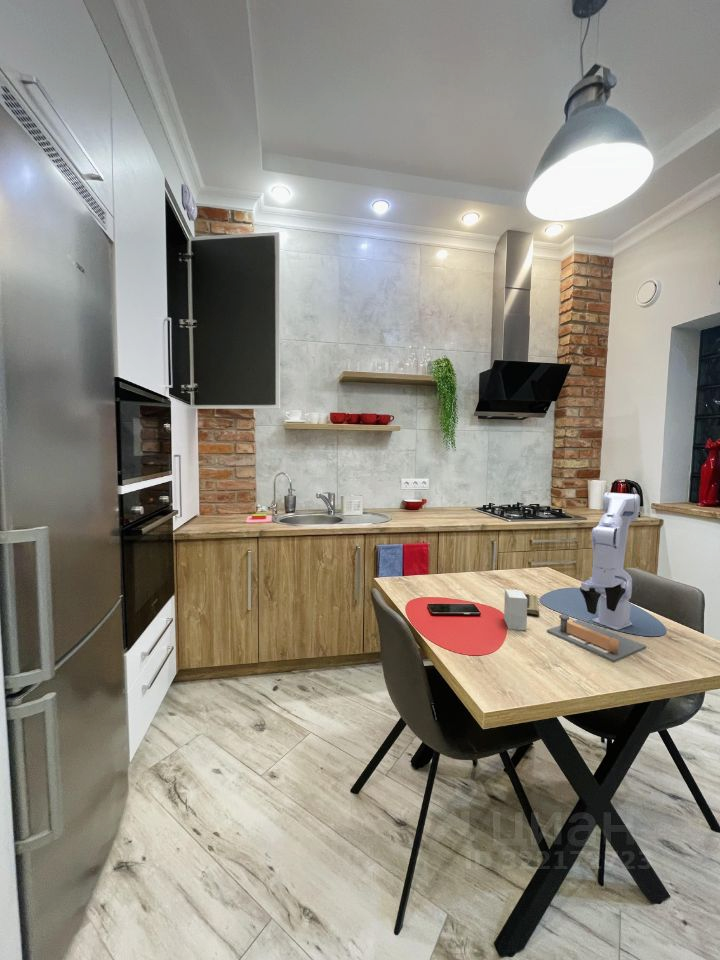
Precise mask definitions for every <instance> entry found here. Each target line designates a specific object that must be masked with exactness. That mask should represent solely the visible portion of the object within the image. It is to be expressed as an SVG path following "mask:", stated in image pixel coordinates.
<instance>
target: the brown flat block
mask: <svg viewBox="0 0 720 960" xmlns="http://www.w3.org/2000/svg"><path fill="white" fill-rule="evenodd" d="M525 596H526V597H527V599H528V600H527V617H533V618H534V617H535V618H540V607H539V606H540V605H539V598H538V596H537V595H535V594H525Z"/></svg>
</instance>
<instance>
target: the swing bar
mask: <svg viewBox="0 0 720 960" xmlns="http://www.w3.org/2000/svg"><path fill="white" fill-rule="evenodd" d="M567 632H568V633H570V634H572V635H574V636H577V637H579V638H581V639H584V640H586V641H588V642H591V643H593V644H595V645H598V646H600V647H602V648H604V649H607V650H609V651H611V652H614V653H618V647H619V640H618V639H616V638H612V637H609V636H606V635H604V634H601V633H599V632H596V631H594V630H591V629H589V628H586V627H584V626H581V625H579V624H576V623H574V622H573V621H571V620H570V621H567Z"/></svg>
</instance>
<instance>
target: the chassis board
mask: <svg viewBox="0 0 720 960" xmlns="http://www.w3.org/2000/svg"><path fill="white" fill-rule="evenodd" d="M558 618H559V619H560V625H558V626H554V627H550V628H547V629H546V633H549V634H551V635H554V636H556V637H557V638H560V639H562V640H564V641H566V642H568V643H571V644H573V645H575V646H578V647H579V648H581V649H583V650H586V651H588V652H591V653H593V654H595V655H598V656H599V657H602V658H603V659H606V660H608V661H610V662H613V663H615V662H618V661H620V660H623V659H625V658H626V657H629V656H631V655H633V654H637V653H638V652H640V651H643V650H645V649H647V645H646V644H642V643H640V642H638V641H636V640H635V641H634V640H632V639H630V638H627V637H625V636H622V635H620V634H617V633H614V632H612V631H610V630H607V629H605V628H602V627H599V626H597V625H594V624H592V623H589V622H586V621H584V620H581V619H576V620H573V621H572V622H574V623H576V624H579V625H581V626H584V627H586V628H589V629H591V630H594V631H596V632H599V633H601V634H604V635H606V636H609V637H612V638H616V639H618V640H619V647H618V653H614V652H611V651H609V650H607V649H604V648H602V647H600V646H598V645H595V644H593V643H591V642H588V641H586V640H584V639H581V638H579V637H577V636H574V635H572V634H570V633H568V632H567V622H568V621H569V620H570V616H568V615H566V614H559V617H558Z"/></svg>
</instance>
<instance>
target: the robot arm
mask: <svg viewBox="0 0 720 960" xmlns="http://www.w3.org/2000/svg"><path fill="white" fill-rule="evenodd" d="M640 505H641V497H640V495H639V494H638V493H621V492H620V493H619V492H608V491H607V492H605V493H604V494H603V499H602V508H603V513H604V514H603V515H602V516H601V517H600V519H599V522H598V524H597V525H596V527H593V528H592V530H591V537H590V538H591V539H590V540H591V550H592V551H593V552H592V553H593V554H592V571H591V576H590V577H588V580H585V581H583V582H581V583H580V587H579V591H580V592H581V594H582V597H583V599H584V602H585V607H586V610H587V613H589V614H591V615H596V613H597V609H598V617H595V618H592V622H595V623H597V624H600V625H602V626H604V627H607V628H611V629H613V630H614V631H619V630H622V629H624V628H627V627H630V626H632V625H633V622H631V621H630V617H631V602H630V599H631V598H632V591H633V578H632V576H631V575H630V574H629V573H628V572H627V571H626V570H625V569H624V565H625V557H626V549H627V548H626V547H627V541H628V533H629V528H630V526H631V523H632V522H634V521H637V520H638V518H639V513H640V512H639V511H640Z"/></svg>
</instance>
